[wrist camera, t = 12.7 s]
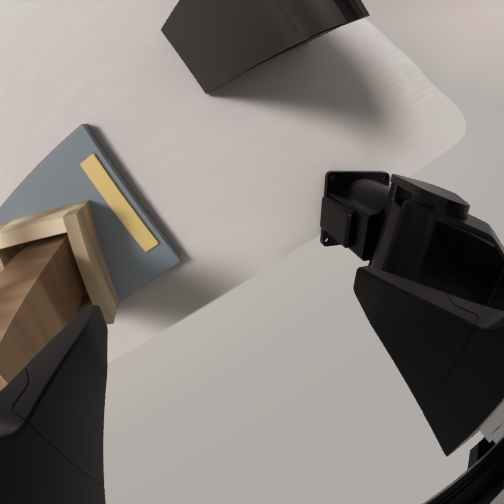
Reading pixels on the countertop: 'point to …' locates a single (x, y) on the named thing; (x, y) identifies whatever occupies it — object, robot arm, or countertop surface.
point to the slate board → (96, 209)
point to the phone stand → (248, 32)
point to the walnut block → (36, 300)
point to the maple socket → (83, 245)
